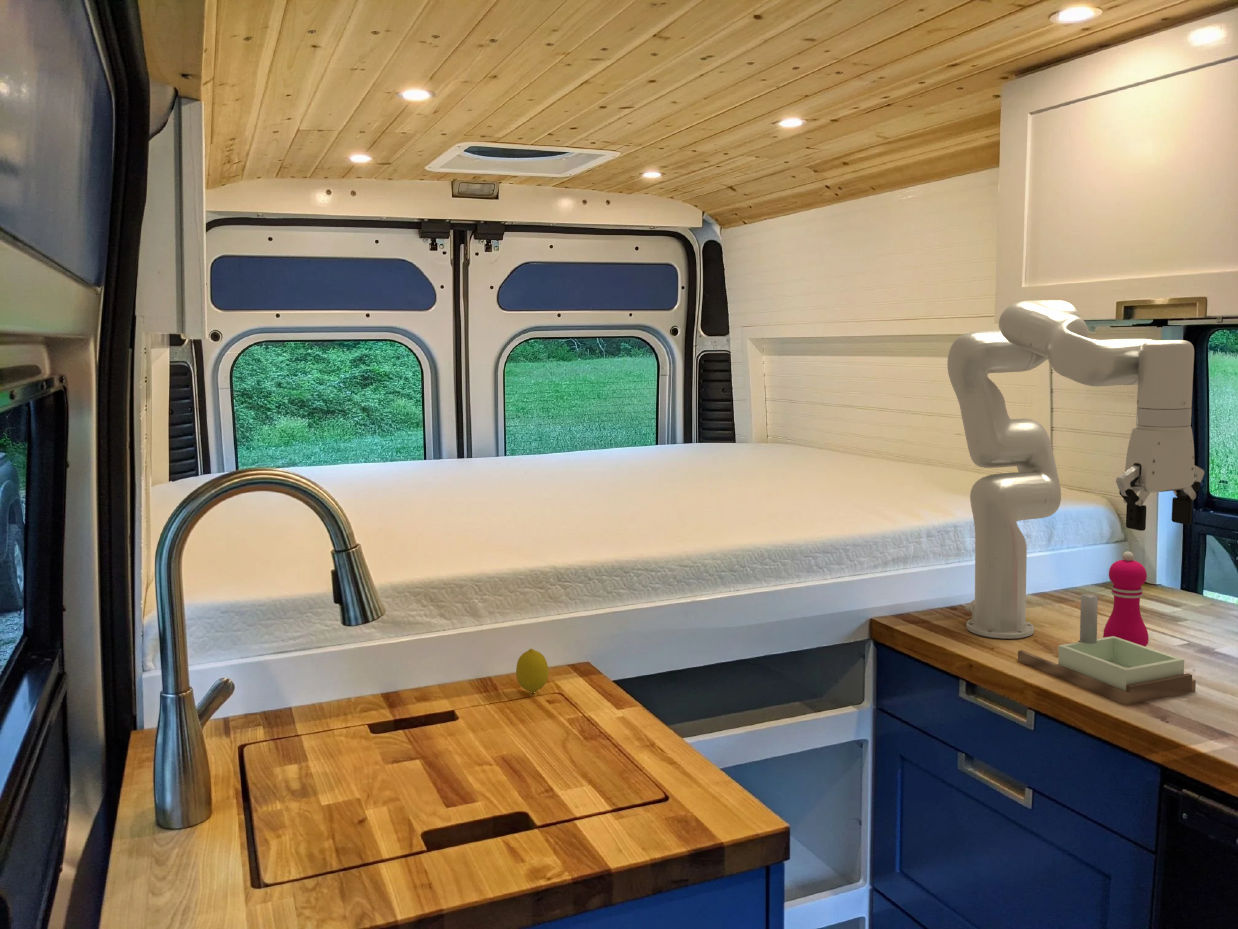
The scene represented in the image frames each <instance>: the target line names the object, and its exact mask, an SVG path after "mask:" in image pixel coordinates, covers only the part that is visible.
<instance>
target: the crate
mask: <svg viewBox="0 0 1238 929" xmlns="http://www.w3.org/2000/svg"><path fill="white" fill-rule="evenodd" d="M1098 602H1099V596H1098V595H1097V594H1092V593H1082V594H1080V617H1079V618H1080V621H1079V622H1080V623H1079V624H1080V625H1079V640H1080V641H1081V642H1078V641H1077V642H1071V643H1070V642H1069V643H1065V644H1059V645H1058V652H1057V653H1058V660H1057V662H1058V663H1057V664H1058V665H1061V666H1063V667H1066V668H1068V669H1071V670H1073V671H1076V672H1078V673H1081V674H1083V675H1086V676H1088V677H1091V678H1094V679H1096V680H1099V681H1101V682H1104V683H1106V684H1109V685H1111V686H1114V687H1116V688H1119V689H1122V690H1124V691H1126V685H1129V684H1135V683H1140V682H1145V681H1150V680H1156V679H1161V678H1166V677H1171V676H1176V675H1182V674H1185V659H1183V658H1180V657H1178V656H1174V655H1171V654H1168V653H1165V652H1163V651H1160V650H1156V649H1153V648H1151V647H1147V646H1146V647H1145V646H1142V645H1139V644H1136V643H1133V642H1130V641H1127V640H1124V639H1121V638H1118V637H1115V636H1111V637H1105V638H1103V637H1099V638H1098V611H1099V610H1098V607H1099V606H1098V604H1099V603H1098Z"/></svg>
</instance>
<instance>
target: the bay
mask: <svg viewBox="0 0 1238 929" xmlns="http://www.w3.org/2000/svg"><path fill="white" fill-rule="evenodd" d="M1077 642H1081V641H1080V639H1079V640H1078V641H1077ZM1017 661H1018V662H1020V663H1023V664H1024V665H1027V666H1029V667H1032V668H1034V669H1037V670H1039V671H1042V672H1044V673H1046V674H1048V675H1051V676H1054V677H1057V678H1058V679H1061V680H1064V681H1066V682H1069V683H1071V684H1074V685H1076V686H1078V687H1081V688H1084V689H1085V690H1088V691H1091V692H1093V693H1095V694H1098V695H1100V696H1103V697H1105V698H1107V699H1110V700H1112V701H1115V702H1117V703H1120V704H1121V705H1125V706H1129V705H1132V704H1138V703H1143V702H1149V701H1154V700H1159V699H1164V698H1168V697H1174V696H1178V695H1183V694H1188V693H1194V692H1196V688H1197V684H1196V682H1197V680H1196V679H1194V678H1193V674H1191V673H1184V674H1182V675H1176V676H1171V677H1166V678H1161V679H1156V680H1150V681H1145V682H1140V683H1135V684H1129V685H1126V691H1124V690H1122V689H1119V688H1116V687H1114V686H1111V685H1109V684H1106V683H1104V682H1101V681H1099V680H1096V679H1094V678H1091V677H1088V676H1086V675H1083V674H1081V673H1078V672H1076V671H1073V670H1071V669H1068V668H1066V667H1063V666H1061V665H1058V663H1056V662H1052V661H1050V660H1049V659H1045V658H1043V657H1040V656H1038V655H1034V654H1032V653H1029V652H1027V651H1024V650H1021V649H1020V650H1017Z"/></svg>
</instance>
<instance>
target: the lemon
mask: <svg viewBox="0 0 1238 929" xmlns="http://www.w3.org/2000/svg"><path fill="white" fill-rule="evenodd" d="M515 670H516V672H515V673H516V674H515V675H516V679H517V682H518V684H519V686H520V687H521V688H522V689H523V690H525V691H528V692H529V693H531V692H532V693H534V692H536V691H537V692H538V691H539V690H541V689H542V688H543V687H544V686H545V685H546V684H547V682H548V678H549V665H548V662H547V659H546V657H545V655H543V653H541V652H539V651H538V650H535V649H533V648H530V649H529V648H528V650H527V651H525V652H523V653H522V654H521V655H520V656H519V657H518V660H517V663H516V669H515ZM537 692H536V693H537ZM532 693H531V694H532ZM534 694H535V693H534Z"/></svg>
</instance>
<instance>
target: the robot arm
mask: <svg viewBox="0 0 1238 929" xmlns="http://www.w3.org/2000/svg"><path fill="white" fill-rule="evenodd" d="M1047 360H1048V362H1049V364H1050V366H1051V368H1052V369H1053V371H1054V372H1055V373H1057V374H1058V375H1060V376H1062V377H1064V378H1065V379H1069V380H1070V381H1074V382H1077V383H1078V384H1081V385H1085V386H1090V387H1097V388H1098V387H1111V386H1112V387H1113V386H1136V385H1137V394H1136V395H1137V397H1136V425H1135V427H1134V428H1133V427H1132V430H1131V433H1130V436H1129V441H1128V445H1127V452H1126V457H1125V466H1124V467H1125V468H1124V472H1122V474H1120V475H1119V476H1118V477H1116V479H1115V482H1116V485H1117V488H1118V490H1119V495H1120V496H1121V498H1122V500H1123V503H1124V504H1126V508H1125V509H1126V513H1125V514H1126V516H1125V518H1126V519H1125V528H1127V529H1130V530H1135V531H1139V532H1141V531H1143V532H1144V531H1145V530H1146V528H1147V526H1146V525H1147V505H1144V504H1145V502H1146V500H1147V499H1148V497H1149V496H1150V495H1151V493H1153V494H1154V493H1163V492H1173V493H1174V495H1175V497H1172V500H1171V502H1172V504H1171V505H1172V506H1171V522H1173V523H1177V524H1181V525H1185V526H1186V525H1187V526H1189V525H1192V522H1193V502H1194V500H1195V499H1196V498H1197V492H1198V491H1199V489H1200V488H1201V482H1202V481H1203V478H1204V475H1205V470H1204V469H1202V468H1201V467H1199V466H1197V465H1195V447H1194V446H1195V444H1194V434H1193V429H1192V426H1191V425H1192V411H1193V410H1192V407H1193V406H1192V402H1193V384H1194V383H1193V382H1194V381H1193V380H1194V365H1195V364H1194V363H1195V348H1194V345H1193V344H1192V342H1190V341H1188V340H1184V339H1173V340H1172V339H1163V340H1162V339H1161V340H1158V339H1157V340H1156V339H1151V338H1114V339H1113V338H1112V339H1095V338H1094V339H1093V338H1089V328H1088V325H1087V323H1086V322H1085V320H1084V319H1083V318H1081V315H1080V313H1079V311H1078V309H1077V308H1076V307H1075V306H1074V305H1073V304H1071V303H1070V302H1068V301H1065V300H1062V299H1046V300H1045V299H1044V300H1043V299H1041V300H1039V299H1037V300H1021V301H1016V302H1014V303H1012V304H1010V305H1009V306H1007V307H1006V308H1005V309H1004V310H1003V312H1002V313H1001V314H1000V316H999V320H998V329H986V330H975V331H970V332H967V333H964V334H961V335H960V336H958V337H957V338H956V339H955V340H954V341H953V343H951V346H950V348H949V351H948V355H947V364H946V365H947V372H948V378H949V381H950V385H952V386H951V387H952V388H953V391H954V393H955V396H956V399H957V401H958V404H959V409H960V415H961V420H962V425H963V430H964V436H965V441H966V444H967V448H968V452H969V456H970V458H971V461H972V462H973V464H974V465H976V466H977V467H980V468H983V469H984V468H986V469H994V468H997V469H999V468H1009V467H1010V468H1011V467H1016V469H1017V472H1014V471H1013V472H1004V473H1001V472H1000V473H994V474H989V475H985V476H983V477H981V478H979V479H978V480H977V481H975V482H974V484H973V485H972V487H971V490H970V494H969V500H970V508H971V512H972V517H973V526H974V541H975V542H974V544H975V545H974V554H975V555H974V599H973V600H972V601H971V602H970V603H967V604H966V605H965V607H964V610H966V611H968V612H971V618H970V619H968V620H967V621H966V622H965V623H966V630H968V631H969V632H971V633H973V634H975V635H978V636H981V637H986V638H991V639H1007V640H1011V639H1013V640H1014V639H1023V638H1024V639H1025V638H1027V637H1030V636H1033V634H1034V633H1035V627H1034V625H1033V624H1032V623H1031V622H1029V621H1027V619H1026V618H1027V617H1026V614H1027V613H1026V612H1027V610H1026V609H1027V560H1028V556H1027V554H1028V553H1027V550H1028V549H1027V547H1028V546H1027V542H1026V539H1025V536H1024V534H1023V532H1022V531H1021V529H1020V527H1019V526H1018V522H1021V521H1026V520H1027V521H1029V520H1037V519H1038V520H1039V519H1043V518H1048V517H1051V516H1053V515H1054V514H1055V513H1056V512H1057V511H1058V510H1059V508H1060V505H1061V501H1062V489H1061V484H1060V480H1059V475H1058V474H1059V473H1058V469H1057V465H1056V461H1055V460H1056V459H1055V456H1054V451H1053V446H1052V442H1051V439H1050V436H1049V434H1048V432H1047V430H1046V429H1045V427H1044V426H1043V425H1042V423H1040V422H1039V421H1036V420H1034V419H1032V418H1011V417H1010V416H1009V413H1008V411H1007V406H1006V401H1005V398H1004V396H1003V393H1002V392H1001V390H1000V388H999V387H998V386H997V384H995V382H994V381H992V379H990V378H989V377H988V375H989V374H1002V373H1021V372H1023V373H1024V372H1029V371H1031V370H1034V369H1035V368H1037V367H1039V366H1041V364H1043V363H1044V362H1046V361H1047ZM1138 493H1139V494H1138Z"/></svg>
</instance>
